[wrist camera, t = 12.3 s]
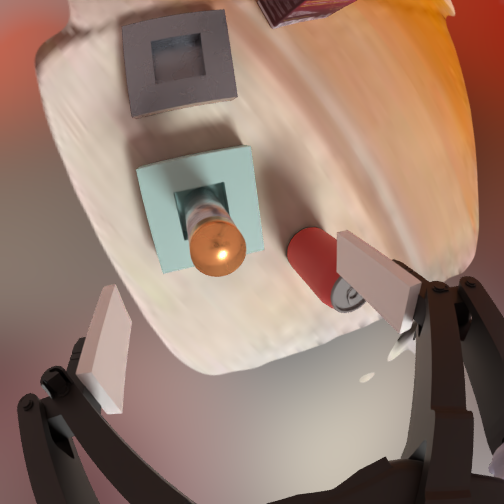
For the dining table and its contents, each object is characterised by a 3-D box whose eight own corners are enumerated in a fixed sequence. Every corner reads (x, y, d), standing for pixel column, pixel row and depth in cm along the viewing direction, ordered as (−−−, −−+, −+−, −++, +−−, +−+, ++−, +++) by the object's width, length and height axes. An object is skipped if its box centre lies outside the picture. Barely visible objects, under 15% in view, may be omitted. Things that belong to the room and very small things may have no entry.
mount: (125, 35, 22) (121, 26, 19) (220, 19, 24) (224, 9, 21) (135, 119, 27) (131, 117, 24) (232, 100, 29) (237, 96, 26)
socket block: (140, 166, 29) (135, 169, 26) (243, 144, 31) (250, 146, 28) (163, 260, 34) (163, 273, 31) (256, 239, 36) (264, 249, 33)
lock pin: (181, 191, 31) (184, 231, 19) (215, 184, 32) (242, 218, 19) (187, 224, 33) (196, 282, 20) (220, 217, 33) (249, 269, 21)
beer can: (286, 274, 40) (325, 324, 29) (283, 230, 37) (328, 271, 26) (328, 264, 41) (375, 307, 30) (328, 221, 38) (381, 256, 27)
